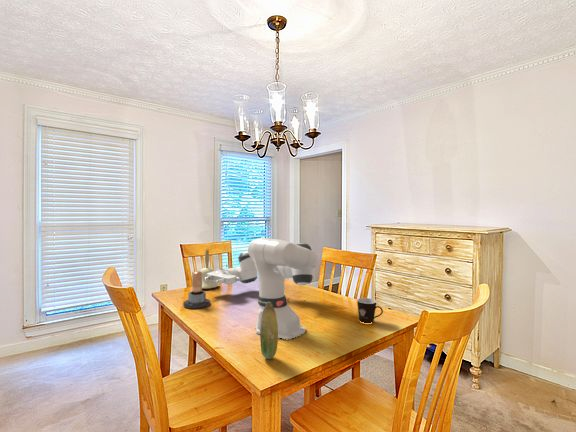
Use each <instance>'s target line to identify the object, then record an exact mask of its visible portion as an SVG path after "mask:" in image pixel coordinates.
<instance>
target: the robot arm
mask: <svg viewBox="0 0 576 432" xmlns="http://www.w3.org/2000/svg"><path fill="white" fill-rule="evenodd" d="M318 263H319V256H318V255H317V254H316V252H314V251H313V250H312V247H311V246H310V245H309V244H308V243H303V242H302V243H301V242H299V243H296V244H295V243H293V242H290V241H288V240H286V239H285V240H284V239H277V238H267V237H260V238H254V239H252V240H251V241H250V242H249V244H248V246H247V250H246V251H243V252H240V254H239V256H238V264H239V266H236V267H231V268H230V267H229V268H218V269H217V270H214V271H213V272H209V273H207V277H205V281H208V280H212V281H216V283H219V284H226V285H233V284H235V283H237V282H240V283H242V284H249V283H250V284H251V283H252V282H255V281H257V279H258V287H259V289H258V292H259V293H258V296H257V304H258V311H257V319H256V322H255V326H254V327H255V330H256V331H255V334H257V335H260V327H261V317H262V312H263V310H264V308H265V305H266V303H267V302H271V303H272V304H273V307H274V310H275V312H276V317H277V324H278V339H280V338H282V339H281V340H285V339H289V340H293V339H292V338H294V339H296V338H298V337H297V336H299V335H300V336H302V335H304V334H305V333H306V331H305V330H307V329H306V327H305V326H303V325H301V320H300V319H301V318H300V316H299V314H298V313H296V312H295V311H294V310H293V309H292V307H291V306H289V304H288V302H290V298H287V297H286V295H285V280H288V279H292V280H293V282H294V284H296V285H298V286H306V285H307V286H308V285H309V284H311V283H312V282H313V277H314V276H313V272H314V271H313V270H314V269H315V268H316V267H317V265H318ZM301 334H302V335H301ZM300 336H299V337H300ZM295 337H296V338H295Z"/></svg>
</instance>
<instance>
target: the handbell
mask: <svg viewBox="0 0 576 432" xmlns="http://www.w3.org/2000/svg"><path fill="white" fill-rule="evenodd" d="M204 252H205V253H204V263H205V267H203V268H201V269H200V272H202V289H214V288H217V287H219V285H220V283H216V281H212V280H208V281H205V277H207V273H209V272H213V271H215V270H214V268H213V267H210V266H209V264H210V263H209V262H210V253H209V248H207V249H206V250H205V251H204Z"/></svg>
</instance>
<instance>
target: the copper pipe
mask: <svg viewBox="0 0 576 432" xmlns="http://www.w3.org/2000/svg"><path fill="white" fill-rule="evenodd" d="M191 278H192V279H191V285H192V286H191V292H192V294H194V295H197V294H202V291H203V288H202V272H200V271H196V270H195V271H192V275H191Z"/></svg>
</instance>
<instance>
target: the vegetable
mask: <svg viewBox="0 0 576 432" xmlns="http://www.w3.org/2000/svg"><path fill="white" fill-rule="evenodd" d="M259 338H260V339H259V340H260V351H261V355H262V357H263V358H264V359H266V360H271V359H273V358H274V357H275V356H276V353H277V350H278V342H279V338H278V324H277V317H276V312H275V310H274V307H273V304H272V303H271V302H267V303H266V305H265V308H264V310H263V312H262V317H261V327H260V334H259Z"/></svg>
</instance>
